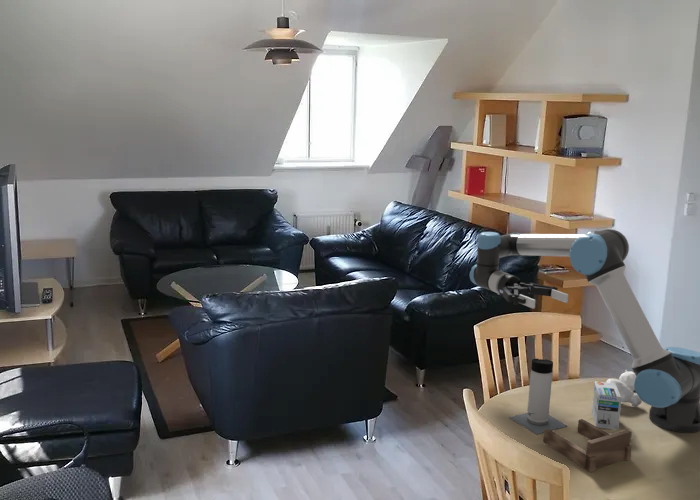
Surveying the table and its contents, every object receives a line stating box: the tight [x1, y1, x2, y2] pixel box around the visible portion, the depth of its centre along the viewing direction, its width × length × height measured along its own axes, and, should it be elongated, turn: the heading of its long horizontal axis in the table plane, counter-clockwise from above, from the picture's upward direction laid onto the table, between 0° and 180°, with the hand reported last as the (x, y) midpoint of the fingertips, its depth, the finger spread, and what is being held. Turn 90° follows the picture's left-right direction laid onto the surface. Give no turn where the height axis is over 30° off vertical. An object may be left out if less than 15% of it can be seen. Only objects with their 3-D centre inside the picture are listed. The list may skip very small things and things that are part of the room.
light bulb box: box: [591, 380, 622, 431], centre depth 213 cm, size 11×7×11 cm, turn 169°
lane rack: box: [542, 418, 633, 473], centre depth 195 cm, size 18×15×8 cm
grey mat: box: [509, 412, 568, 436], centre depth 213 cm, size 12×12×1 cm
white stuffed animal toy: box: [605, 378, 643, 409], centre depth 225 cm, size 6×8×12 cm
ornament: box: [618, 369, 636, 392], centre depth 236 cm, size 6×7×7 cm
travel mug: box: [526, 358, 554, 426], centre depth 210 cm, size 6×7×20 cm
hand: (551, 301), depth 216 cm, fingers open, 13 cm apart
